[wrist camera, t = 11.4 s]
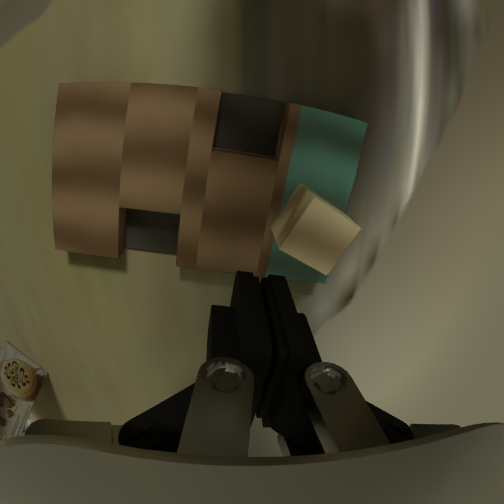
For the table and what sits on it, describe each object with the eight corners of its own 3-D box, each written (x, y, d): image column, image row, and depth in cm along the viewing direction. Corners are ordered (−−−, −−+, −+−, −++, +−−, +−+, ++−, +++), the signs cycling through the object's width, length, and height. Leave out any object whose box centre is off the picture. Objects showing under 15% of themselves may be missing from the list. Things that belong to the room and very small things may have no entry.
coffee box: (-1, 357, 39) (-39, 424, 24) (6, 339, 37) (-38, 411, 22) (39, 387, 42) (9, 459, 27) (49, 372, 40) (16, 451, 26)
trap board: (72, 84, 25) (59, 83, 22) (355, 121, 29) (367, 122, 26) (66, 238, 31) (55, 249, 29) (317, 270, 36) (324, 283, 33)
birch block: (300, 182, 28) (314, 197, 24) (341, 210, 30) (361, 228, 25) (270, 226, 30) (279, 249, 25) (312, 250, 31) (326, 275, 27)
